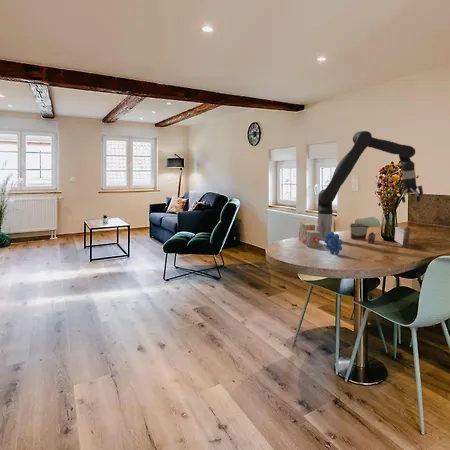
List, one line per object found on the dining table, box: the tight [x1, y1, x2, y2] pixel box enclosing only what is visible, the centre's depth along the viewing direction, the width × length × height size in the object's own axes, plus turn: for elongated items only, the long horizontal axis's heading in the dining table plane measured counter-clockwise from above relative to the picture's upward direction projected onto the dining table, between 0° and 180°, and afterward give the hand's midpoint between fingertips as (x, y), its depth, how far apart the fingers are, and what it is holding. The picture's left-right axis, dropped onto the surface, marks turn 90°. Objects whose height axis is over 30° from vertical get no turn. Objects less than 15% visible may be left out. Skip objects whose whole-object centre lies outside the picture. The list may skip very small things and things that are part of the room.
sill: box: [374, 241, 403, 248], centre depth 216 cm, size 4×16×1 cm, turn 44°
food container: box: [349, 223, 370, 240], centre depth 236 cm, size 12×6×10 cm, turn 84°
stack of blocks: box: [298, 221, 320, 249], centre depth 213 cm, size 21×6×12 cm, turn 5°
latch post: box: [367, 231, 376, 245], centre depth 220 cm, size 3×3×7 cm
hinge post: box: [401, 226, 411, 249], centre depth 208 cm, size 3×3×13 cm
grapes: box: [323, 231, 343, 255], centre depth 188 cm, size 12×7×12 cm, turn 38°
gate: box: [394, 226, 404, 246], centre depth 219 cm, size 18×2×9 cm, turn 169°
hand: (411, 202), depth 226 cm, fingers open, 8 cm apart
